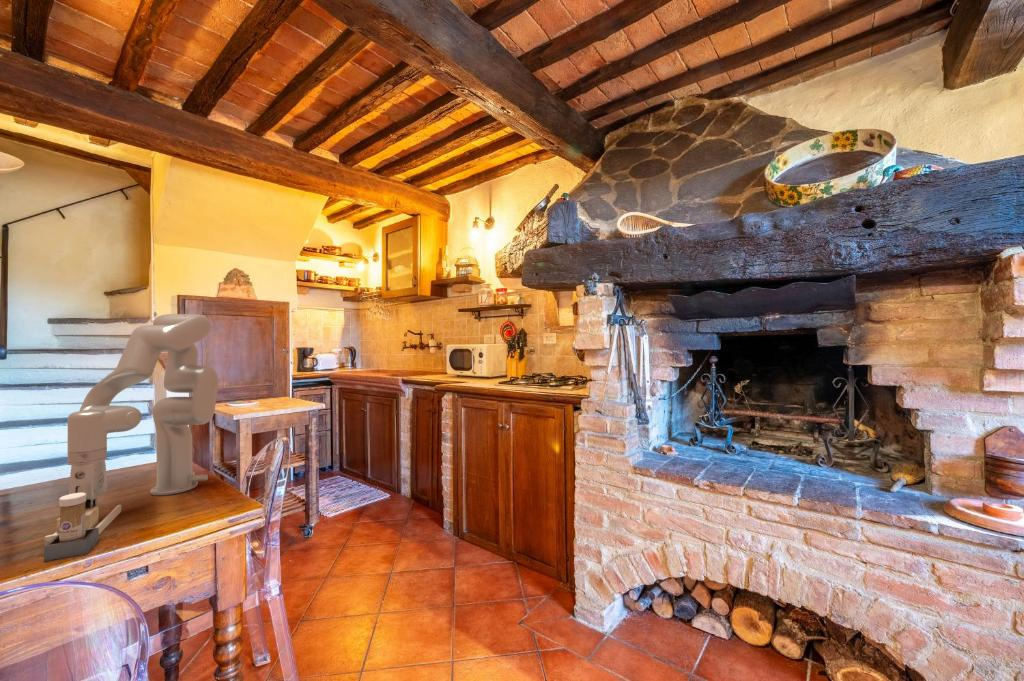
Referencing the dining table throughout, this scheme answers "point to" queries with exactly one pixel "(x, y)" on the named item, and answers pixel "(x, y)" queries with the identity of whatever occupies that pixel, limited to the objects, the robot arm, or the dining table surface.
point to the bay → (101, 525)
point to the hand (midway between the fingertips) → (87, 523)
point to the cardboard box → (87, 518)
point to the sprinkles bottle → (72, 517)
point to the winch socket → (71, 546)
